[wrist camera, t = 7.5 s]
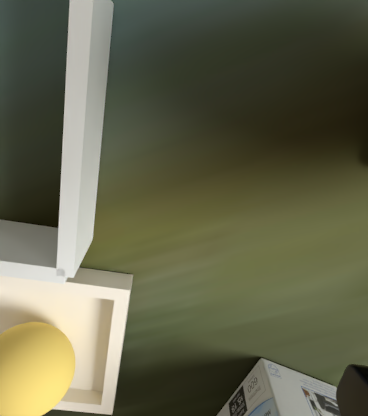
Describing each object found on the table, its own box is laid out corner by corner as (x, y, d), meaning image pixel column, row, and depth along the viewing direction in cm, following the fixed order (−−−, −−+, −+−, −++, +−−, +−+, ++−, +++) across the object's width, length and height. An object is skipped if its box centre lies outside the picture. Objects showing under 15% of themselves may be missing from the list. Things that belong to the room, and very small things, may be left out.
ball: (86, 308, 21) (64, 377, 16) (81, 369, 22) (59, 447, 18) (0, 299, 20) (-48, 367, 15) (2, 363, 22) (-41, 441, 17)
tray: (133, 274, 20) (130, 290, 19) (115, 393, 24) (112, 414, 23) (-39, 251, 20) (-57, 265, 18) (-31, 378, 23) (-45, 399, 22)
